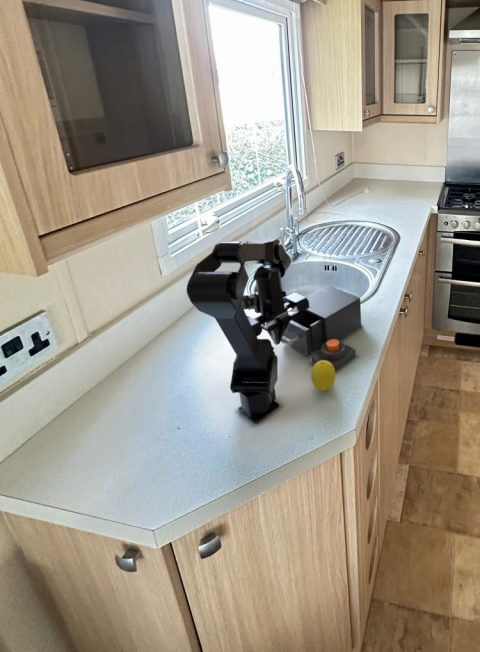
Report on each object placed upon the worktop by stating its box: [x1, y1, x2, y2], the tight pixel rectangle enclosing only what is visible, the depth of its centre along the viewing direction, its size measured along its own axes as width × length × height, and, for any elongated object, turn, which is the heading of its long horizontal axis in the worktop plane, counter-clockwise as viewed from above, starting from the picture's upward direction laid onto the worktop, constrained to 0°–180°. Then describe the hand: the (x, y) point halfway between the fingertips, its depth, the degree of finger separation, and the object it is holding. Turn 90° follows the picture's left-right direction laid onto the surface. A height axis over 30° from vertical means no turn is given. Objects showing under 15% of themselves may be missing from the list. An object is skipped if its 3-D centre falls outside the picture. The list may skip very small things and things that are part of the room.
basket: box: [280, 310, 325, 358], centre depth 109 cm, size 16×10×8 cm, turn 141°
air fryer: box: [295, 286, 362, 347], centre depth 116 cm, size 14×12×10 cm
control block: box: [310, 340, 357, 372], centre depth 104 cm, size 9×7×4 cm
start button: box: [327, 339, 340, 352], centre depth 103 cm, size 3×3×2 cm
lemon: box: [310, 360, 337, 391], centre depth 93 cm, size 6×6×8 cm
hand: (277, 343), depth 102 cm, fingers closed
